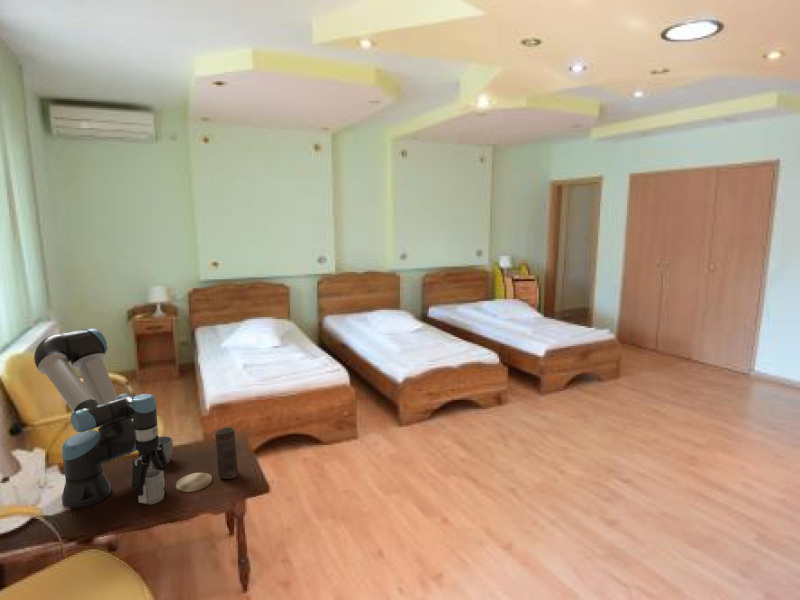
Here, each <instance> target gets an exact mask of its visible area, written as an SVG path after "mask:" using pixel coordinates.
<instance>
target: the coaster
mask: <svg viewBox="0 0 800 600" xmlns="http://www.w3.org/2000/svg"><path fill="white" fill-rule="evenodd" d="M212 481H213V477H212V475H211V474H210V473H207V472H194V473H189V474H186V475H184V476H182V477H181V478H179V479H178V480H176V483H175V489H176V490H177V491H178V492H181V493H195V492H197V491H201V490H203V489H205V488H207V487H208V486H210V485H211V483H213V482H212Z"/></svg>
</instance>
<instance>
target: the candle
mask: <svg viewBox="0 0 800 600" xmlns="http://www.w3.org/2000/svg"><path fill="white" fill-rule="evenodd" d="M235 435H236V433H235V428H234V427H230V426H223V427H221V428H219V429H218V430H216V431H215V432H214V436H215V438H214V439H215V449H216V450H215V451H216V461H217V463H216V464H217V475H218V477H219V478H221V479H233V478H236V477H238V475H239V470H238V469H239V468H238V460H237V448H236V436H235Z"/></svg>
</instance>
